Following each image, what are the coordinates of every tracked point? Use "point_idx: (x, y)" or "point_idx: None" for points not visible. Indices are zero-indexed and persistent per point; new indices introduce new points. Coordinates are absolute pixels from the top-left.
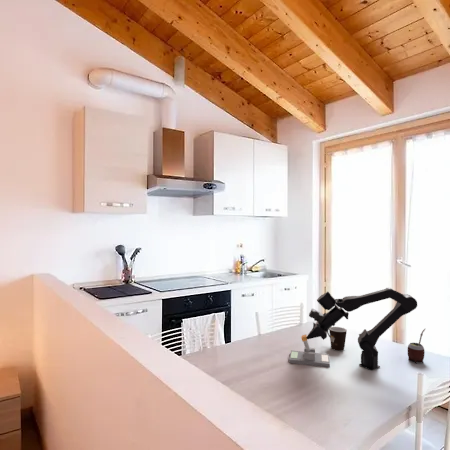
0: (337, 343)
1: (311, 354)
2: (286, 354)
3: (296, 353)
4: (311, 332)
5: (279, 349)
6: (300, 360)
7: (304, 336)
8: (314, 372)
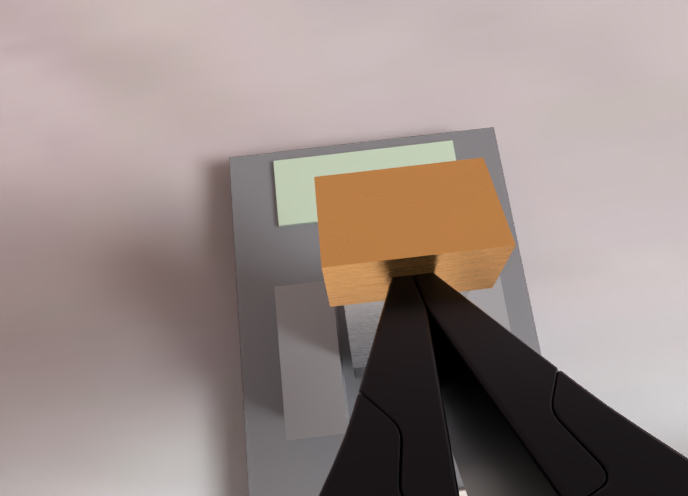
0: None
1: (285, 388)
2: (435, 109)
3: None
4: (349, 438)
5: (535, 27)
6: (243, 267)
7: (367, 230)
8: (80, 439)
